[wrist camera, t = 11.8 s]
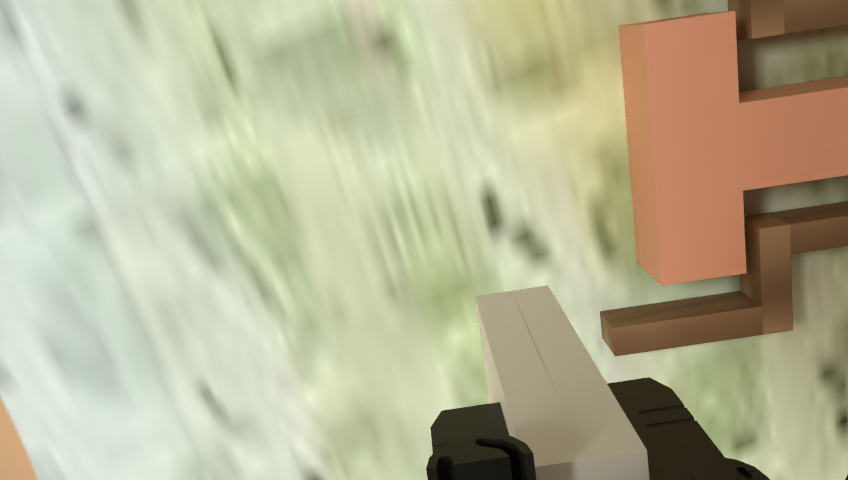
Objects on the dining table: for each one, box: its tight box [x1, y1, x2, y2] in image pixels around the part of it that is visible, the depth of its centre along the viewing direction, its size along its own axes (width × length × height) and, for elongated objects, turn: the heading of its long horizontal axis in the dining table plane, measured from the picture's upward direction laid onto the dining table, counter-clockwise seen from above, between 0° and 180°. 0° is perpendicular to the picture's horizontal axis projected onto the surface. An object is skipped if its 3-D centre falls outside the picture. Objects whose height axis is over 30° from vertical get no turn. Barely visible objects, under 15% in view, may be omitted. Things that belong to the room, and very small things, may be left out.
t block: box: [619, 11, 848, 286], centre depth 37 cm, size 12×11×4 cm
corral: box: [600, 0, 848, 356], centre depth 38 cm, size 20×16×2 cm
